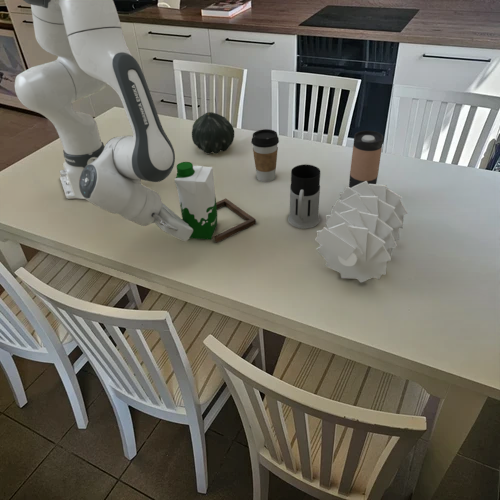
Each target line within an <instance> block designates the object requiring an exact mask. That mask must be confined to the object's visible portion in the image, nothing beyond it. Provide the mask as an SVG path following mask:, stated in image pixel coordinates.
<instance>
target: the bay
mask: <svg viewBox="0 0 500 500" xmlns="http://www.w3.org/2000/svg"><path fill="white" fill-rule="evenodd" d="M216 206H217V210H218V209H221V208H223V207H226V208H228V209H229V210H230V211H232V212H233V213H235V214H236V215H238V216H239V217H241V218H242V220H244V221H243V222H241V223H239V224H236V225H234V226H232V227H230V228H228V229H226V230H224V231H222V232H219V233H217V234H215V235H213V240H214V242H215V243H219V242H221V241H223V240H226V239H227V238H229V237H232V236H235V235H236V234H238V233H240V232H243V231H245V230H247V229H248V228H250V227H252V226H254V225H256V224H257V219H256V218H255V217H253V216H252V215H250V214H249V213H248V212H246V211H244V210H243V209H242V208H240V207H239V206H238V205H236V204H235V203H233V202H232V201H230V200H229V199H227V198H224V199H223V198H222V199H221V200H218V201H216Z"/></svg>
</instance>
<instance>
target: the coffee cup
mask: <svg viewBox="0 0 500 500" xmlns="http://www.w3.org/2000/svg"><path fill="white" fill-rule="evenodd" d="M279 142H280V140H279V136H278V132H276V131H275V130H274V129H270V128H269V129H268V128H264V129H258V130H256V131H254V132H253V133H252V137H251V142H250V143H251V144H252V152H253V160H254V168H255V174H256V179H257V180H258V181H260V182H265V183H268V182H271V181H273V180H275V178H276V169H277V162H278V161H277V160H278V150H279V146H278V144H279Z"/></svg>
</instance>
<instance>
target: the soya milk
mask: <svg viewBox="0 0 500 500" xmlns="http://www.w3.org/2000/svg"><path fill="white" fill-rule="evenodd" d="M213 170H214V169H213V166H203V165H193V162H190V161H182V162H179V163H177V164H176V176H175V178H174V184H175V186H176V190H177V194H178V202H179V206H180V207H179V208H180V212H181V219H183V220H184V221H185V222H186V223H187V224H189V226H190V227H191V228H192V229H193V233H192V234H191V236H190V237H189V239H197V240H209V241H210V240H212V239H213V238H214V234H215V233H216V229H217V226H218V209H217V206H216V202H217V197H216V189H215V180H214V171H213Z"/></svg>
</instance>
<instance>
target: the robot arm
mask: <svg viewBox="0 0 500 500" xmlns="http://www.w3.org/2000/svg"><path fill="white" fill-rule="evenodd" d="M22 1H23V2H24V3H26V4H28V5H30V9H31V17H32V24H33V30H34V37H35V40H36V42H37V44H38V45H39V46H40V48H41V49H43V50H44V51H45V52H47V53H49V54H51V55H53V56H56V57H57V58H56V59H55V60H53V61H49V62H45V63H42V64H38V65H35V66H31V67H30V68H28V69H26V70H24V71H22V72H20V73H19V74H17V75H16V77H15V80H14V91H15V94H16V97H17V99H18V100H19V101H20V103H21V104H22V105H23V106H24V107H25V108H27V109H28V110H30V111H32V112H35V113H38V114H39V115H42V116H43V117H45V118H46V119H47V120H48V121H49V122H50V123H51V124H52V125H53V127H54V128H55V131H56V133H57V134H58V137H59V139H60V143H61V146H62V148H63V151H62V152H63V158H64V161H63V163H62V167H63V169H60V170H59V174H60V175H59V179H60V183H61V186H62V189H63V191H64V195H65V198H66V199H67V200H68V199H69V200H72V199H80V200H86V201H88V202H89V203H90V204H92V205H94V206H96V207H98V208H100V209H102V210H104V211H106V212H108V213H112V214H116V215H117V214H118V215H120V216H121V217H122V218H124V219H125V220H128V221H130V222H133V223H134V224H137V225H140V226H141V227H142V226H143V227H146V226H149V225H151V224H155V225H156V226H157V227H158V228H159V229H160V230H162V231H163V232H164V233H166V234H168V235H170V236H172V237H174V238H176V239H177V240H180V241H182V242H188V241H189V239H190V238H189V237H190V236H191V234H192V233H193V229H192V228H191V227H190V226H189V224H187V223H186V222H185V221H184V220H183V219H182V217H180V216H179V215H178V214H176V213H175V212H174V211H173V210H171V208H170V207H168V205H166V204H165V203H164V202H163V201H162V197H161V195H160V193H159V192H157V191H156V190H153V189H151V188H149V187H147V186H145V185H144V184H142V181H146V182H152V183H160V182H162V181H164V180H166V179H167V178H168V177H169V176H170V175H171V173H172V172H173V169H174V166H175V162H176V154H175V149H174V146H173V144H172V142H171V140H170V139H169V137H168V135H167V134H166V132H165V130H164V128H163V125H162V122H161V120H160V118H159V114H158V112H157V108H156V106H155V103H154V100H153V97H152V94H151V92H150V88H149V86H148V82H147V79H146V77H145V75H144V72H143V70H142V68H141V66H140V64H139V62H138V61H137V59H136V58H135V57H134V56H133V55H132V53H131V51H130V49H129V47H128V44H127V42H126V39H125V38H126V37H125V36H124V31H123V28H122V23H121V20H120V16H119V13H118V11H117V10H118V9H117V7H116V5H115V1H114V0H22ZM107 86H109V87H110V88H112V89H113V90H114V92H115V93H116V94H117V96H118V97H119V99H120V101H121V104H122V107H123V109H124V112H125V115H126V117H127V121H128V123H129V126H130V129H131V131H132V134H133V135H121V136H114V137H112V138H110V139H109V140H107V142H106V143H105V144H104V142H103V141H102V138H101V135H100V130H99V127H98V123H97V121H96V120H95V118H94V117H93V116H92V115H91V114H89V113H87V112H83V111H79V110H75V108H74V106H73V103H74V102H76V101H79V100H83V99H85V98H88V97H90V96H94V95H95V94H97V93H99V92H100V91H102V90H104V89H105V88H106V87H107Z"/></svg>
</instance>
